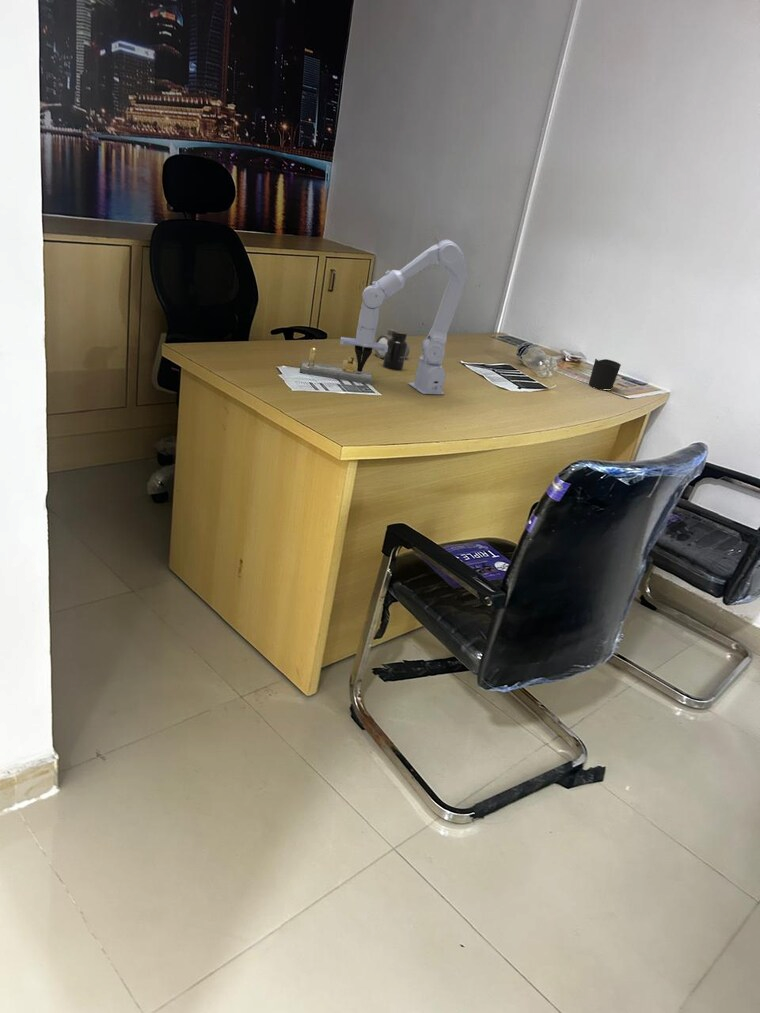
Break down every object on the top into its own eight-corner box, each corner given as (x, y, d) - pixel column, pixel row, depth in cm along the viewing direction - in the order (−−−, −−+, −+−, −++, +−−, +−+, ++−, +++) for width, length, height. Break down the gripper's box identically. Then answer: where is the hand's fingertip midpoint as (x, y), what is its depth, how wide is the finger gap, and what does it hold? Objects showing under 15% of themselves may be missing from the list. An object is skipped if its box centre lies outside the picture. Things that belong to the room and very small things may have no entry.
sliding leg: (355, 370, 225) (357, 356, 223) (355, 376, 219) (357, 362, 218) (342, 368, 225) (344, 354, 223) (342, 373, 219) (344, 359, 217)
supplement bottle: (402, 371, 241) (409, 336, 236) (382, 368, 240) (389, 332, 235) (402, 366, 247) (409, 331, 242) (383, 363, 247) (389, 328, 242)
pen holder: (613, 393, 268) (622, 367, 264) (588, 387, 269) (596, 361, 265) (611, 387, 277) (619, 362, 273) (586, 381, 278) (594, 356, 274)
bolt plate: (370, 375, 229) (374, 354, 226) (371, 384, 220) (376, 362, 217) (301, 364, 227) (304, 342, 224) (300, 372, 218) (303, 349, 215)
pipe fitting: (385, 360, 249) (392, 330, 246) (371, 355, 254) (377, 326, 251) (411, 363, 257) (417, 334, 254) (396, 358, 262) (403, 330, 259)
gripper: (343, 325, 213) (336, 370, 219) (391, 334, 215) (383, 378, 221) (343, 320, 219) (336, 364, 225) (390, 329, 221) (382, 372, 227)
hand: (359, 370), depth 223 cm, fingers closed
